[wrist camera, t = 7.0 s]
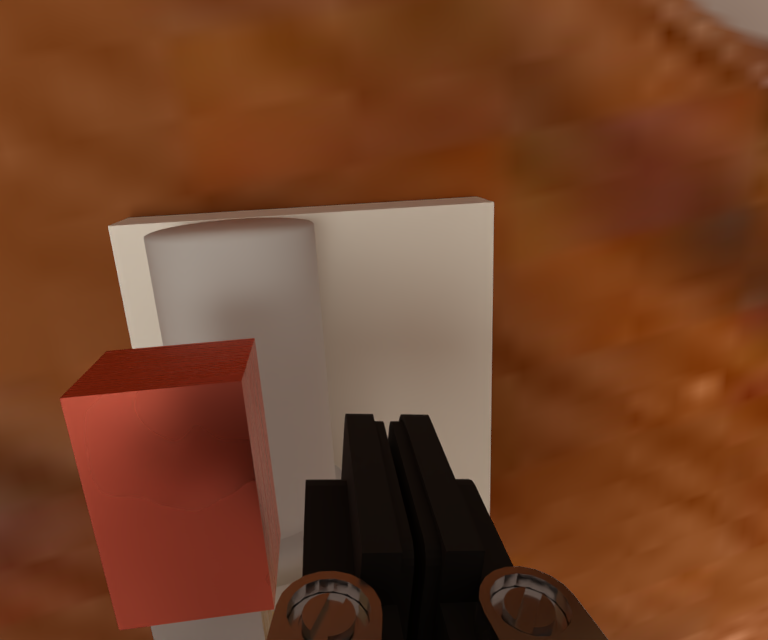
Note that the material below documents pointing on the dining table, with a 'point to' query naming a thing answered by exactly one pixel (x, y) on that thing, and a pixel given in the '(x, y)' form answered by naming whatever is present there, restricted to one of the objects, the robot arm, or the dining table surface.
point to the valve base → (330, 323)
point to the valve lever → (180, 487)
